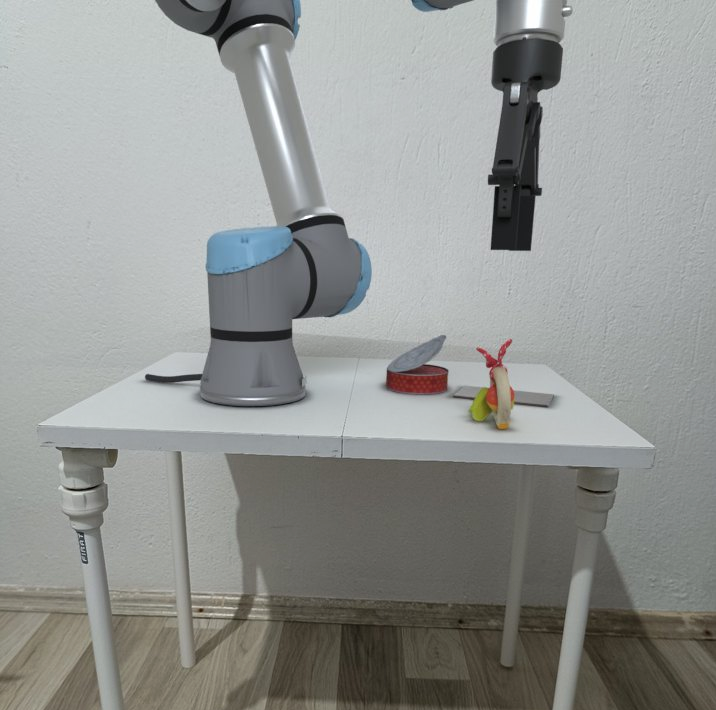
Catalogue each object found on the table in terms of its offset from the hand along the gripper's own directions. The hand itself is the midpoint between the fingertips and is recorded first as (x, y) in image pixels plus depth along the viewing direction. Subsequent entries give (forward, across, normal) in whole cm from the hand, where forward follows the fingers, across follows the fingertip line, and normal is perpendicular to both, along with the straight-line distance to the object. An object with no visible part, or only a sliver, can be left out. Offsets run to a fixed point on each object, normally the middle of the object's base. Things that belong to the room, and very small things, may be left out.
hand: (512, 250), depth 79 cm
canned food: (+21, +17, +16) cm, 31 cm away
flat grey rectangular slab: (+21, +16, +2) cm, 27 cm away
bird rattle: (+22, -1, 0) cm, 22 cm away
